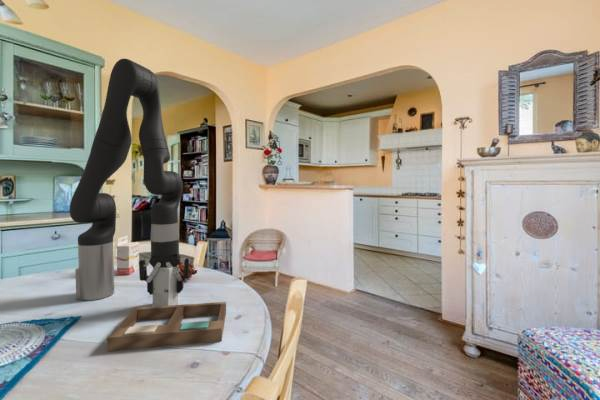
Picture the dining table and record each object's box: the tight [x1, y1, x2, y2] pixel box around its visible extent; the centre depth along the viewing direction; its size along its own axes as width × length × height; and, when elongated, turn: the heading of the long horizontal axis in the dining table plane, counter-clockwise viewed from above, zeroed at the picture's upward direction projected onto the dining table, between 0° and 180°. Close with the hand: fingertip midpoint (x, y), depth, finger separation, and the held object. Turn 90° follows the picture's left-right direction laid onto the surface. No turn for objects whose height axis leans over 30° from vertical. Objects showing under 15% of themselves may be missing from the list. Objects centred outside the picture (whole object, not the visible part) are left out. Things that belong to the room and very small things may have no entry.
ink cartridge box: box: [116, 235, 140, 276], centre depth 116 cm, size 9×5×15 cm, turn 5°
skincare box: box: [151, 265, 179, 307], centre depth 84 cm, size 6×4×12 cm
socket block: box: [106, 301, 227, 352], centre depth 71 cm, size 24×15×3 cm, turn 101°
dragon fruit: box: [178, 260, 198, 283], centre depth 108 cm, size 8×8×12 cm
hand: (165, 292), depth 84 cm, fingers closed on skincare box, 7 cm apart
